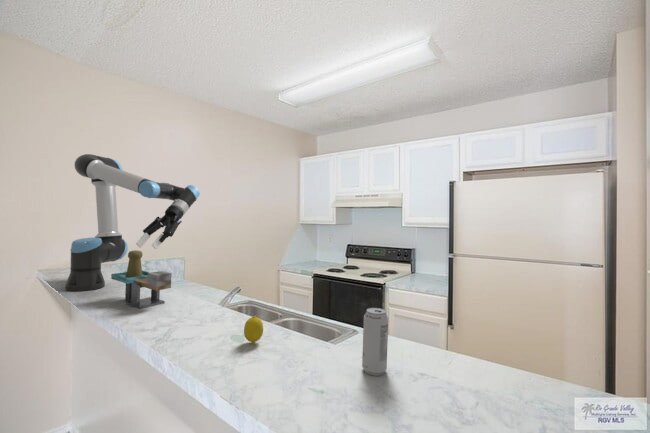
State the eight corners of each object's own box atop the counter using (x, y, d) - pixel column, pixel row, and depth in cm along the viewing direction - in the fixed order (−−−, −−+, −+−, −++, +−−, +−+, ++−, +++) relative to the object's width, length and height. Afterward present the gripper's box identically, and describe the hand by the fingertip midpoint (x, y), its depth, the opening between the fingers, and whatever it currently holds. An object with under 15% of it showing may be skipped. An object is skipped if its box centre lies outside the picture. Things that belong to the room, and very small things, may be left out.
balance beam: (140, 278, 142) (141, 263, 142) (177, 289, 128) (178, 271, 128) (111, 283, 132) (111, 266, 132) (148, 295, 118) (148, 276, 118)
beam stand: (142, 296, 139) (142, 276, 139) (164, 303, 131) (165, 281, 131) (117, 301, 131) (118, 279, 131) (139, 309, 122) (140, 285, 122)
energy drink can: (367, 363, 83) (369, 305, 83) (389, 369, 80) (391, 309, 80) (358, 372, 78) (360, 311, 78) (381, 379, 75) (383, 315, 75)
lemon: (246, 348, 90) (247, 320, 90) (241, 341, 95) (242, 314, 95) (265, 345, 92) (266, 317, 92) (259, 338, 97) (260, 312, 97)
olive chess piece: (145, 275, 137) (146, 250, 136) (136, 278, 131) (137, 252, 130) (132, 274, 137) (133, 249, 137) (122, 277, 131) (123, 251, 131)
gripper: (155, 204, 155) (123, 239, 140) (190, 205, 147) (159, 242, 132) (164, 215, 160) (134, 250, 145) (198, 216, 152) (169, 253, 137)
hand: (146, 246), depth 139 cm, fingers open, 9 cm apart
